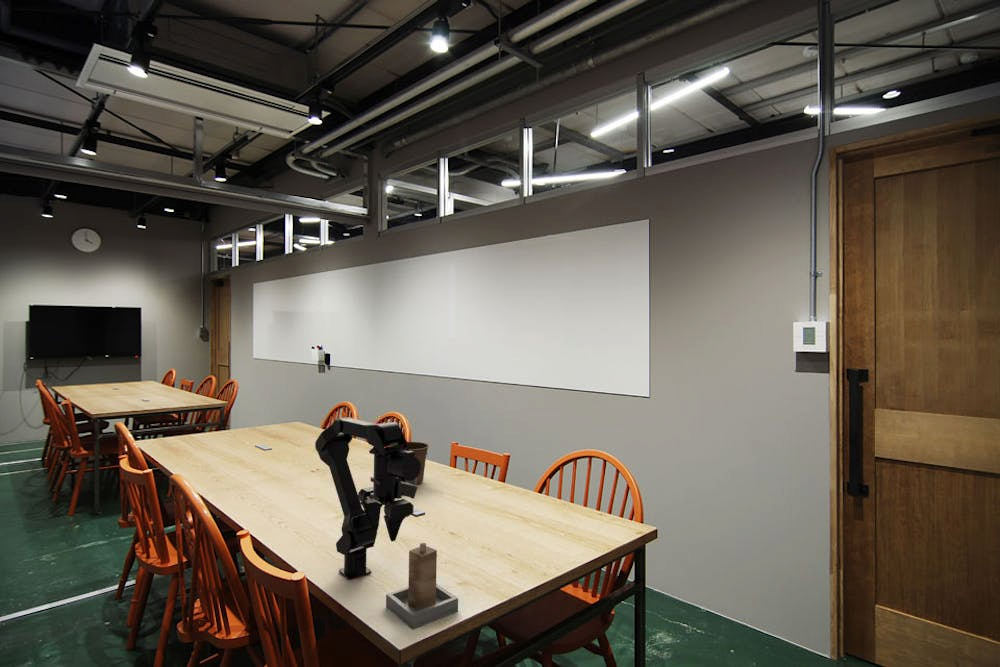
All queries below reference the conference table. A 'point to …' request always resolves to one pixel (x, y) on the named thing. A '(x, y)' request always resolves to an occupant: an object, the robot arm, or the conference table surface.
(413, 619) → the tray
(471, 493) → the conference table surface
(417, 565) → the block
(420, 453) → the plant pot
